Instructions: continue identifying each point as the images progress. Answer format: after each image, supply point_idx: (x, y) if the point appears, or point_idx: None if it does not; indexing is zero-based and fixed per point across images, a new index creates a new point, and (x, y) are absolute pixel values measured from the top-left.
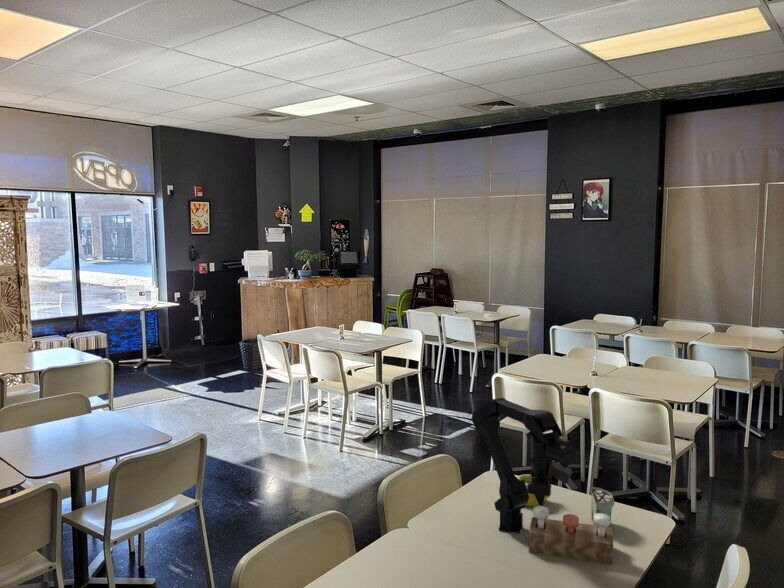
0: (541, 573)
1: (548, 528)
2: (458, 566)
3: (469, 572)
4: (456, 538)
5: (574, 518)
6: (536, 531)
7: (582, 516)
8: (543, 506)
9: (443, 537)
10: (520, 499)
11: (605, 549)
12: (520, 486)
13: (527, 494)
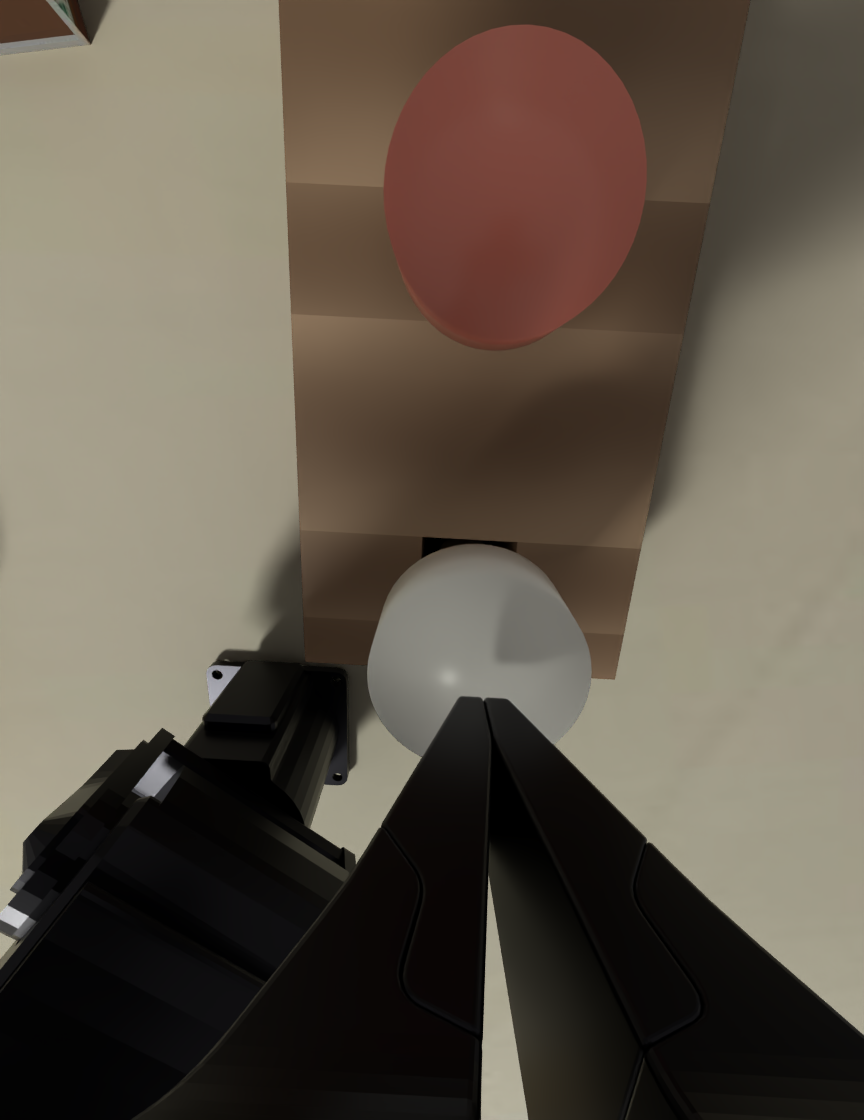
0: (824, 520)
1: (504, 512)
2: (757, 911)
3: (812, 866)
4: (487, 942)
5: (538, 119)
6: (584, 619)
7: None
8: (377, 648)
9: (491, 987)
10: (262, 905)
11: None
12: (78, 1095)
13: (119, 867)
